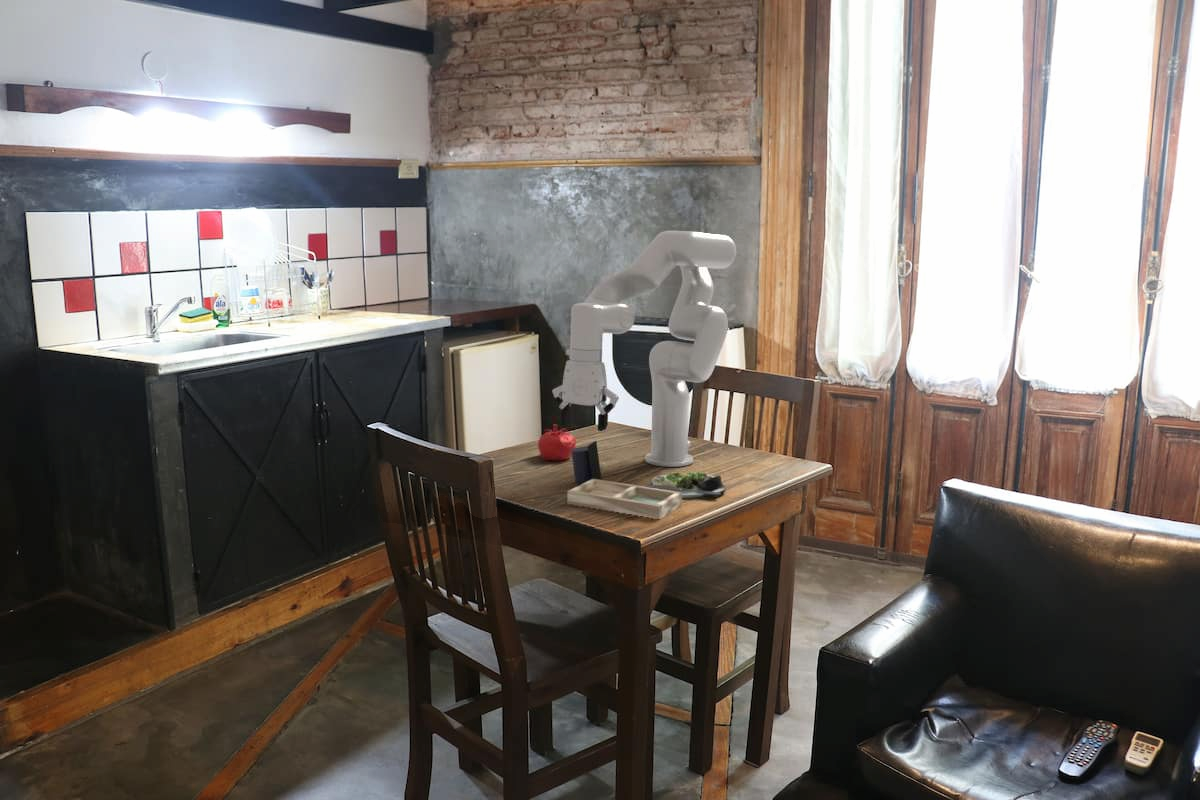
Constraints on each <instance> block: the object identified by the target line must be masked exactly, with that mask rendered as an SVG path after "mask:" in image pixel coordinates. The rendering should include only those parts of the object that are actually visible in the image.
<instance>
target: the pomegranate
mask: <svg viewBox="0 0 1200 800" xmlns="http://www.w3.org/2000/svg"><path fill="white" fill-rule="evenodd" d="M552 426H553V431H552V429H543V430H544V431H545V433H543V434H542V435H541V436H540V437H539V440H538V442H537V447H538V451H539V455H540V457H541V458H542V459H543V460H546V461H550V460H553V462H555V461H557V462H558V461H559V460H560V461H567V460H569V459H570V458H572V453H571V450H572V449H575V448H577V447H576V445H577V440H576V438H575V437H574V436H573V435H572V434H570V433H571V432H570V431H568V430H564V428H561V429H560V430H558V424H556V423H553V424H552ZM560 461H559V462H560Z"/></svg>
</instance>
